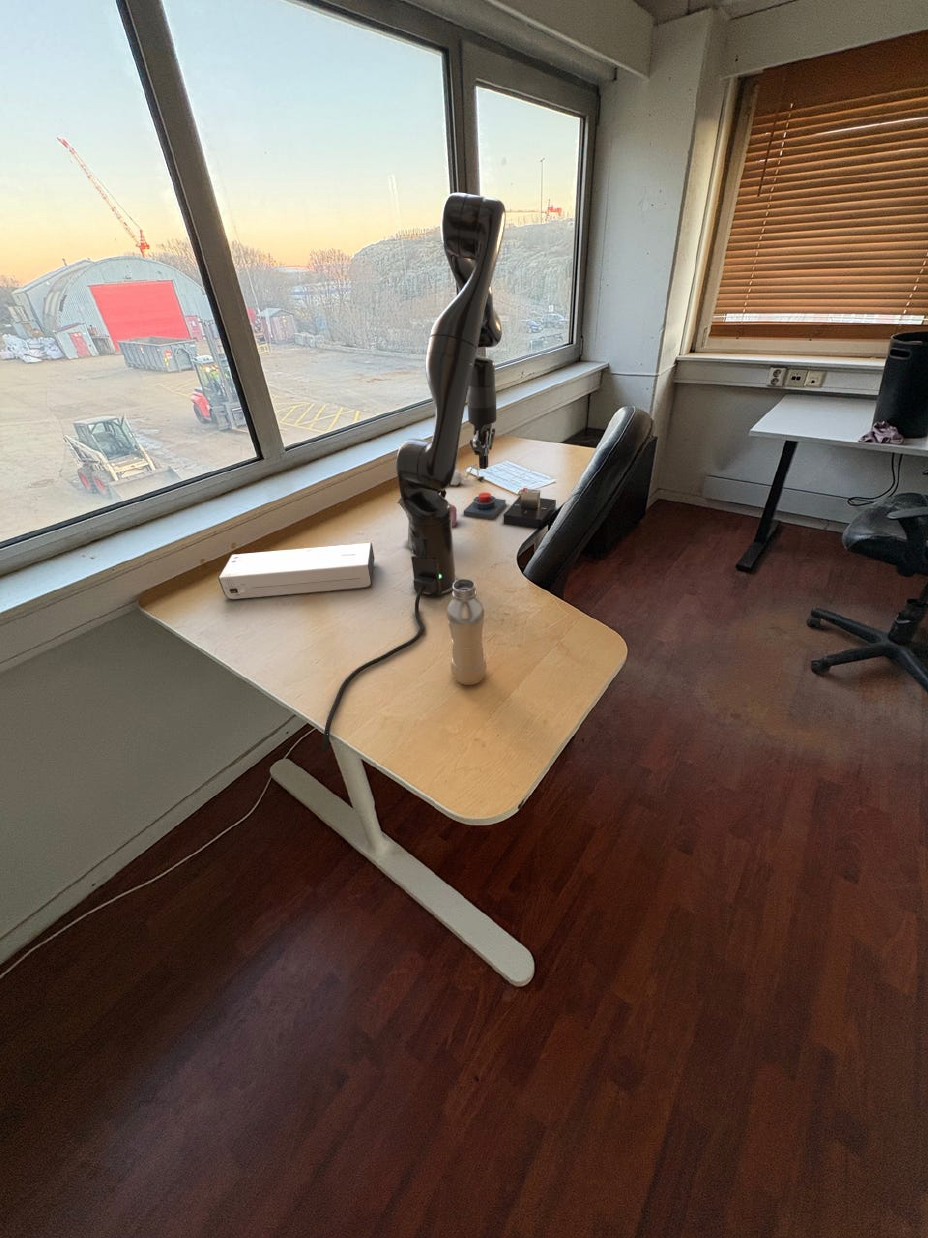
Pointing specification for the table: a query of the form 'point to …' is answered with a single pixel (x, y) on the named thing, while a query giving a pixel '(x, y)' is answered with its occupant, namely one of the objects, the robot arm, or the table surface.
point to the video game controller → (453, 514)
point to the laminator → (298, 571)
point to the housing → (485, 508)
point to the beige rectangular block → (530, 498)
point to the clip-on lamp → (459, 477)
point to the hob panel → (529, 514)
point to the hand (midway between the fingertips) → (483, 467)
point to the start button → (484, 497)
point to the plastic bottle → (466, 633)
